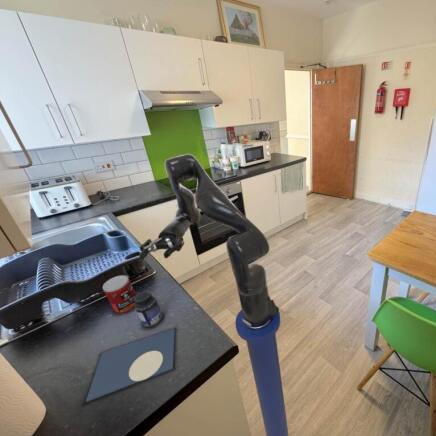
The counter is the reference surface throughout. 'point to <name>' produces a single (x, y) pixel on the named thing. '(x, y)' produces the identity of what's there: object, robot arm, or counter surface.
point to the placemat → (133, 363)
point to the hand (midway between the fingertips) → (153, 256)
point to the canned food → (120, 293)
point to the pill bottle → (148, 309)
